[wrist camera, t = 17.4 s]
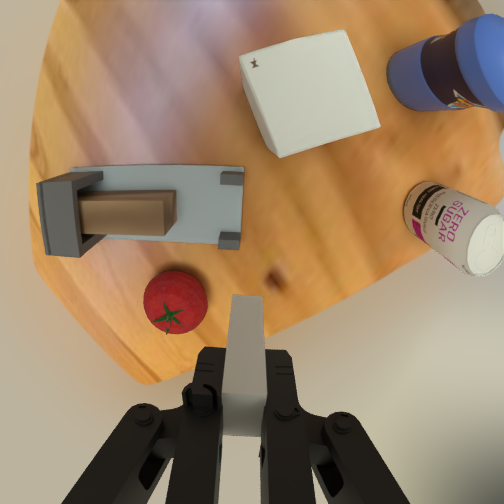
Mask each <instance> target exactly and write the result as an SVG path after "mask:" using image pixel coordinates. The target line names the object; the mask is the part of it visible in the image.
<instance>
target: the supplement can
mask: <svg viewBox="0 0 504 504" xmlns="http://www.w3.org/2000/svg"><path fill="white" fill-rule="evenodd" d="M404 217H405V222H406V225H407V227H408V229H409V230H410V231H411V232H412V233H413V234H414V235H416V236H417V237H418V238H420V239H421V240H422V241H424V242H425V243H426V244H428V245H429V246H430V247H432V248H433V249H434V250H436V251H437V252H438V253H439V254H441V255H442V256H443V257H444V258H446V259H447V260H448V261H450V262H451V263H452V264H453V265H454V266H456V267H457V268H458V269H459V270H461V271H462V272H463V273H464V274H467V275H471V276H476V275H477V276H480V277H482V276H486V275H489V274H490V273H492V272H493V271H494V270H496V269H497V267H498V266H499V265H500V264H501V262H502V261H503V259H504V218H503V216H502V215H501V213H500V212H499V210H498V209H497V208H495V207H494V206H492V205H490V204H488V203H485V202H483V201H481V200H478V199H476V198H474V197H471V196H469V195H466V194H464V193H461V192H459V191H456V190H454V189H451V188H448V187H446V186H443V185H441V184H438V183H435V182H423V183H421V184H419V185H417V186H416V187H415V188H414V189H413V190H412V191H411V192H410V193H409V196H408V198H407V200H406V202H405V208H404Z"/></svg>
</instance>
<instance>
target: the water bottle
mask: <svg viewBox="0 0 504 504" xmlns="http://www.w3.org/2000/svg"><path fill="white" fill-rule="evenodd" d="M386 74H387V81H388V84H389V87H390V89H391V91H392V93H393V94H394V96H395V97H396V98H397V99H398V101H399V102H400V103H402V104H403V105H404V106H406V107H408V108H409V109H412V110H415V111H439V110H462V109H465V108H469V107H474V106H476V107H482V108H487V109H490V110H492V111H495V112H500V113H504V18H502V17H500V16H498V15H495V14H486V15H483V16H480V17H477V18H474V19H471V20H469V21H466V22H464V23H463V24H461V26H460V27H459V28H457V29H456V30H454V31H453V32H451V33H449V34H447V35H440V36H433V37H430V38H427V39H425V40H423V41H420V42H418V43H416V44H413V45H411V46H409V47H407V48H405V49H402V50H400V51H398V52H397V53H395V54H394V55H393V56H392V57H391V58H390V60H389V62H388V65H387V72H386Z"/></svg>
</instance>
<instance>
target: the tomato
mask: <svg viewBox="0 0 504 504" xmlns="http://www.w3.org/2000/svg"><path fill="white" fill-rule="evenodd" d="M143 304H144V309H145V312H146V315H147V317H148V319H149V320H150V322H151V323H152V324H153V325H154V326H155V327H157V328H158V329H160V330H161V331H164V332H166V335H167V333H170V334H183V333H187V332H189V331H191V330H193V329H194V328H196V327H197V326H198V325H199V324H200V323H201V322H202V320H203V319H204V317H205V315H206V312H207V307H208V304H207V297H206V293H205V291H204V288H203V287H202V285H201V284H200V283H199V281H197V280H196V279H195V278H194V277H192V276H191V275H189V274H187V273H184V272H181V271H166V272H164V273H161V274H159V275H158V276H156V277H154V278H153V279H152V280H151V281H150V282H149V284H148V285H147V287H146V289H145V292H144V301H143Z"/></svg>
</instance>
